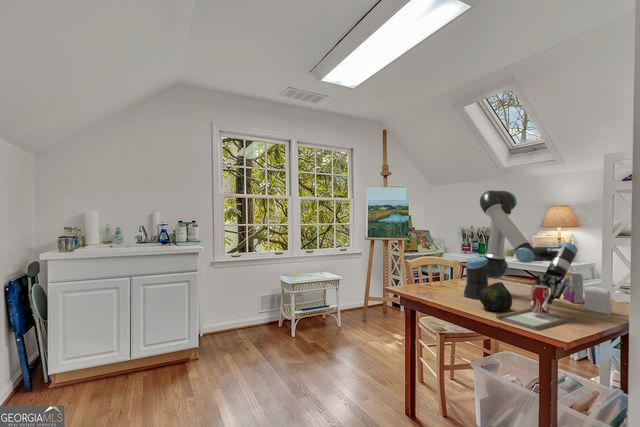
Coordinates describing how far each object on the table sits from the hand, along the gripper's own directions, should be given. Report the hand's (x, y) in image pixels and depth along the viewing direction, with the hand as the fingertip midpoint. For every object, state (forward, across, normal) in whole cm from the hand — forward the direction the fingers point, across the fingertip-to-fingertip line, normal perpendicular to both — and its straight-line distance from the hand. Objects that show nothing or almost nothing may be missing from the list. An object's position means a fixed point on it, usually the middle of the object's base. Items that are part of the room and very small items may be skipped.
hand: (538, 306), depth 148 cm
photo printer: (-23, -7, -31) cm, 39 cm away
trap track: (+5, 0, -3) cm, 6 cm away
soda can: (0, +1, -5) cm, 5 cm away
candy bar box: (-32, +10, -40) cm, 52 cm away
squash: (+7, +19, -2) cm, 20 cm away
